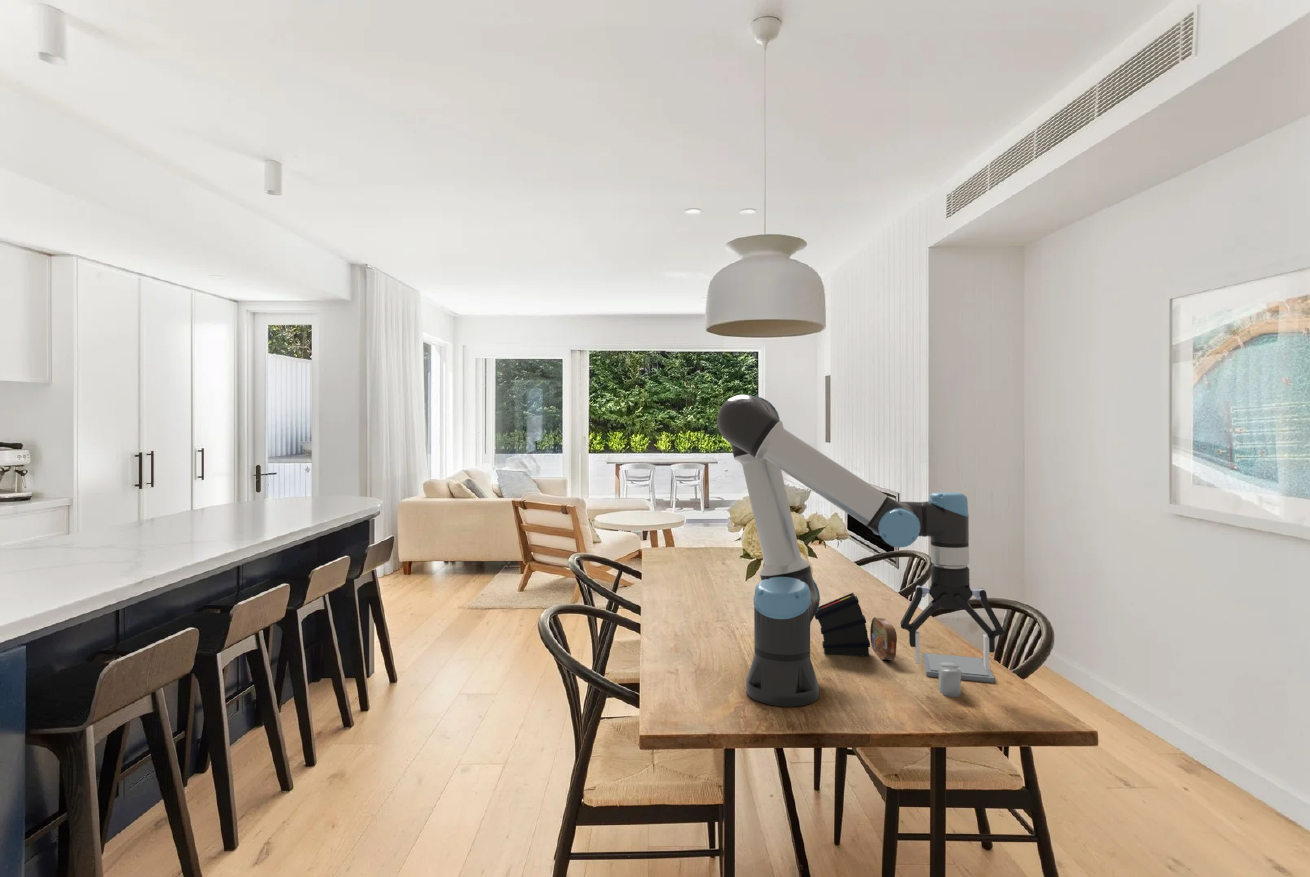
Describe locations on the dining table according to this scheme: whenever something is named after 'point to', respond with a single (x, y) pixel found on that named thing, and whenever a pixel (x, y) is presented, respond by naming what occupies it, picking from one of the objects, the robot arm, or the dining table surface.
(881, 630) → the tin
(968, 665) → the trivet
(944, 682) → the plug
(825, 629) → the magazine
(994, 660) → the dining table surface
